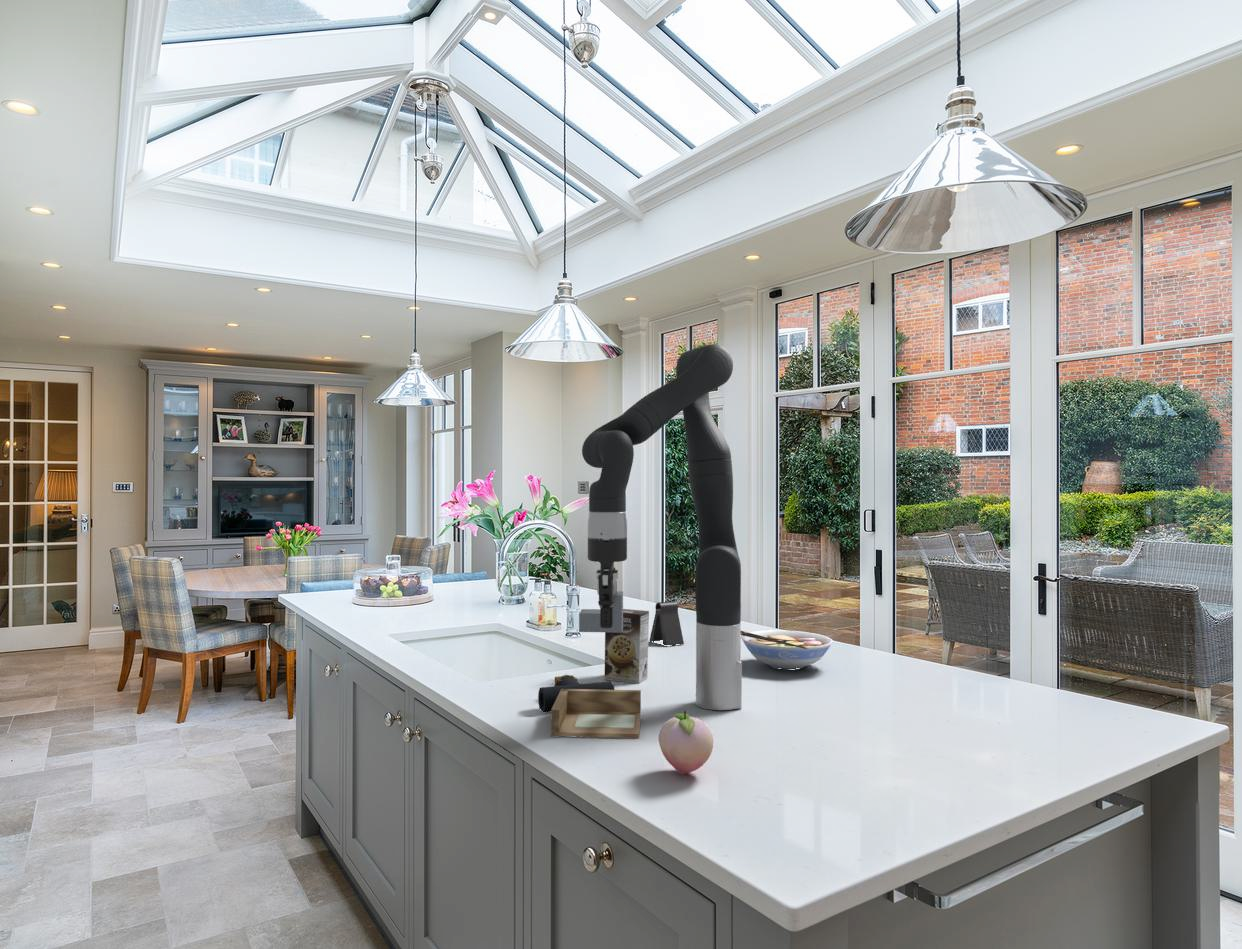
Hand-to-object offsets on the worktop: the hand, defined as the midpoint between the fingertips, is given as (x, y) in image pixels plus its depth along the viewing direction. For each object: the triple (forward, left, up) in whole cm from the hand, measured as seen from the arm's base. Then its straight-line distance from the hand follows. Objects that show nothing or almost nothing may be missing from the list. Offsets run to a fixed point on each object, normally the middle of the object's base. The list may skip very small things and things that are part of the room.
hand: (607, 624), depth 150 cm
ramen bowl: (-42, -52, -19) cm, 70 cm away
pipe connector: (+8, -15, -20) cm, 26 cm away
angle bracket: (+1, 0, -1) cm, 1 cm away
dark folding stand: (-12, -80, -19) cm, 83 cm away
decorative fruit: (-14, +24, -19) cm, 34 cm away
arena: (+2, -1, -19) cm, 19 cm away
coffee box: (-2, -37, -19) cm, 42 cm away
